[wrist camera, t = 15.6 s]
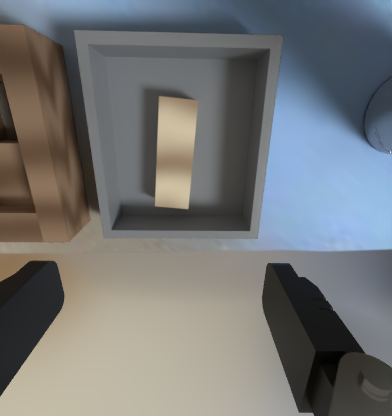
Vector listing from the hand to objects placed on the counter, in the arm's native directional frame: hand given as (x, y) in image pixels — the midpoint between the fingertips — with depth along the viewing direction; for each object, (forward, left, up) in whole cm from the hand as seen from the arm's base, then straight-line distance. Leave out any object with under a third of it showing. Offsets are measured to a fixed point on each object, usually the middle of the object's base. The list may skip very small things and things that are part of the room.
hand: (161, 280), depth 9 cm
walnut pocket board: (+10, -15, -22) cm, 28 cm away
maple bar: (-1, -2, -21) cm, 21 cm away
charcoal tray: (-2, -2, -22) cm, 22 cm away
